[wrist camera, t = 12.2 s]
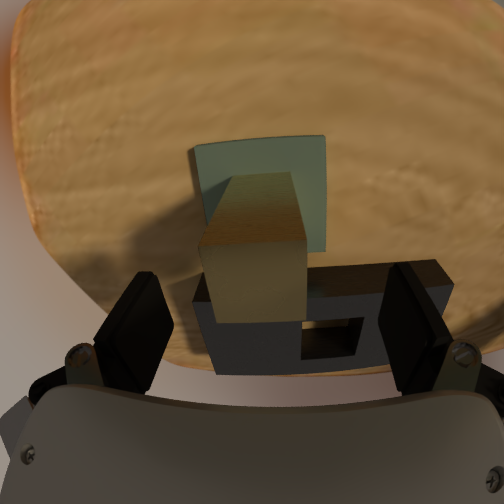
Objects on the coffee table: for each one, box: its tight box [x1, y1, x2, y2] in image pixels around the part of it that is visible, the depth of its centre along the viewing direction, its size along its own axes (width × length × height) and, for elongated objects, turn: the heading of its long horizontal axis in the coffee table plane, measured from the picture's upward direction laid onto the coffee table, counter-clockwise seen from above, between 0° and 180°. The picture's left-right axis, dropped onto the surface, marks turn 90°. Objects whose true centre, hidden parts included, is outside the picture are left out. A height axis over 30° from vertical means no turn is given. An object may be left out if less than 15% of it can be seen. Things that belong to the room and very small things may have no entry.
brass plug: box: [198, 172, 307, 323], centre depth 15 cm, size 4×4×10 cm
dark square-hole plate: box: [192, 259, 454, 375], centre depth 24 cm, size 22×10×4 cm, turn 96°
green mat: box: [194, 135, 327, 253], centre depth 20 cm, size 9×9×1 cm
